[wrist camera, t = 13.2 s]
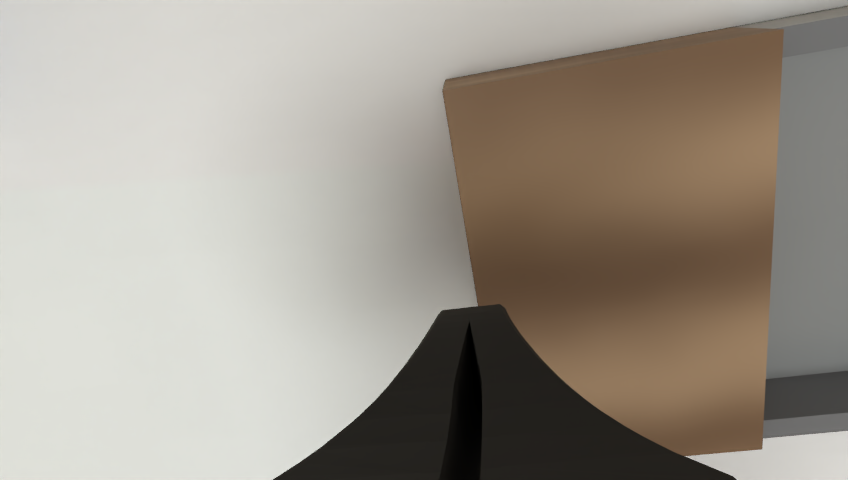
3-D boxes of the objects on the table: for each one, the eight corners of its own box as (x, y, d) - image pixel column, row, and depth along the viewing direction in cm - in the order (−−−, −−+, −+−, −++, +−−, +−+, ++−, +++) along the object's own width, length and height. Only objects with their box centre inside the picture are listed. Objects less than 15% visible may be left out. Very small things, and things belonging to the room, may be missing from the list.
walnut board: (724, 395, 22) (761, 448, 19) (500, 417, 23) (505, 472, 20) (731, 27, 17) (783, 29, 14) (445, 79, 18) (442, 90, 15)
